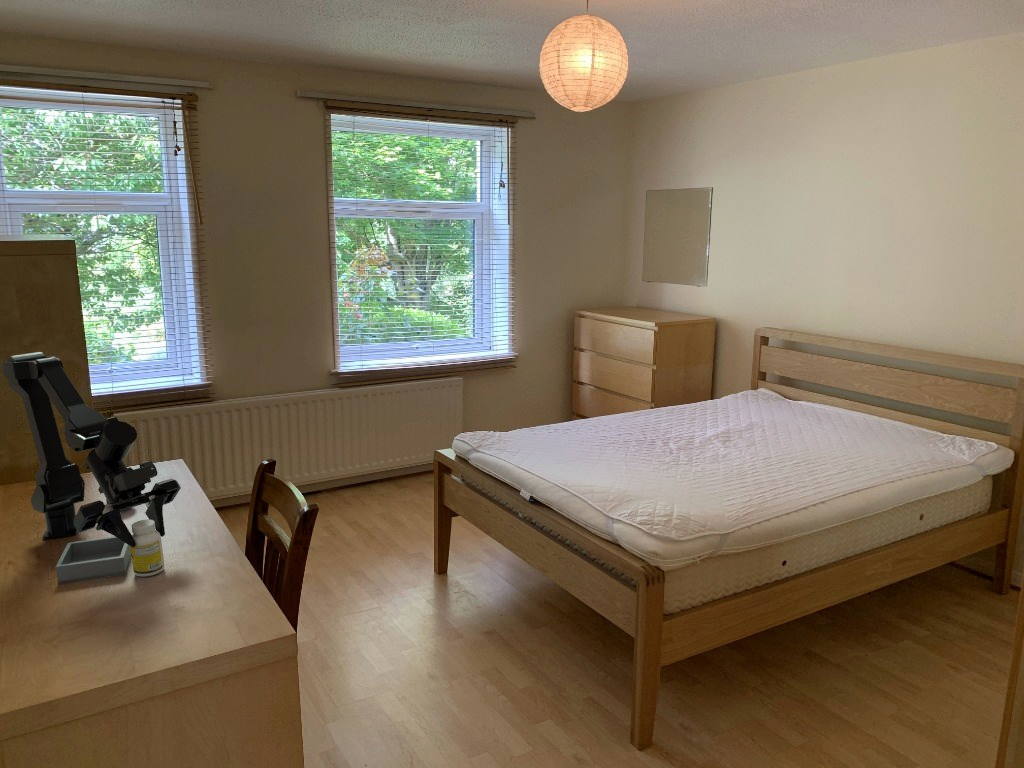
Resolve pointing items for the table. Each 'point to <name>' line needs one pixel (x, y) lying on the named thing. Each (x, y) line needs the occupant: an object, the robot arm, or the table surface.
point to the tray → (93, 560)
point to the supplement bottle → (146, 549)
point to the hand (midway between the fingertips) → (149, 540)
